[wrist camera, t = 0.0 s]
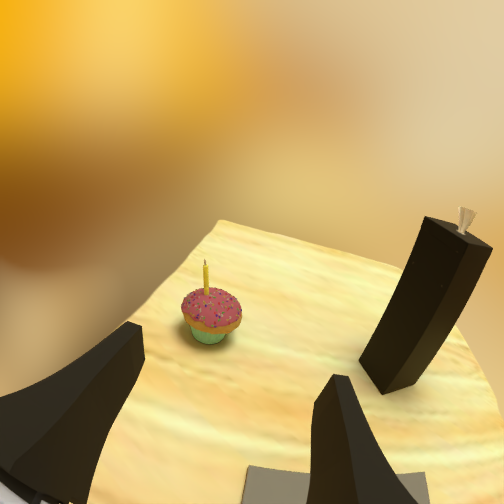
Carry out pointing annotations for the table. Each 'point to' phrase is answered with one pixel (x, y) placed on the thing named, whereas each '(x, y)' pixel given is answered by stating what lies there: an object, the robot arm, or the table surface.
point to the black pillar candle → (425, 302)
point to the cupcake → (211, 312)
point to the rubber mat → (307, 486)
